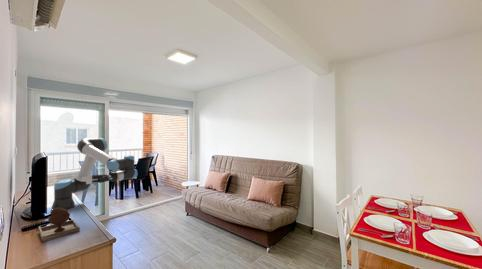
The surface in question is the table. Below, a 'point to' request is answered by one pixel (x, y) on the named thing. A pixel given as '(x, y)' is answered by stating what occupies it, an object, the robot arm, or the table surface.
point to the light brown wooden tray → (49, 233)
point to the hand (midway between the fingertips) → (83, 180)
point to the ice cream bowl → (59, 218)
